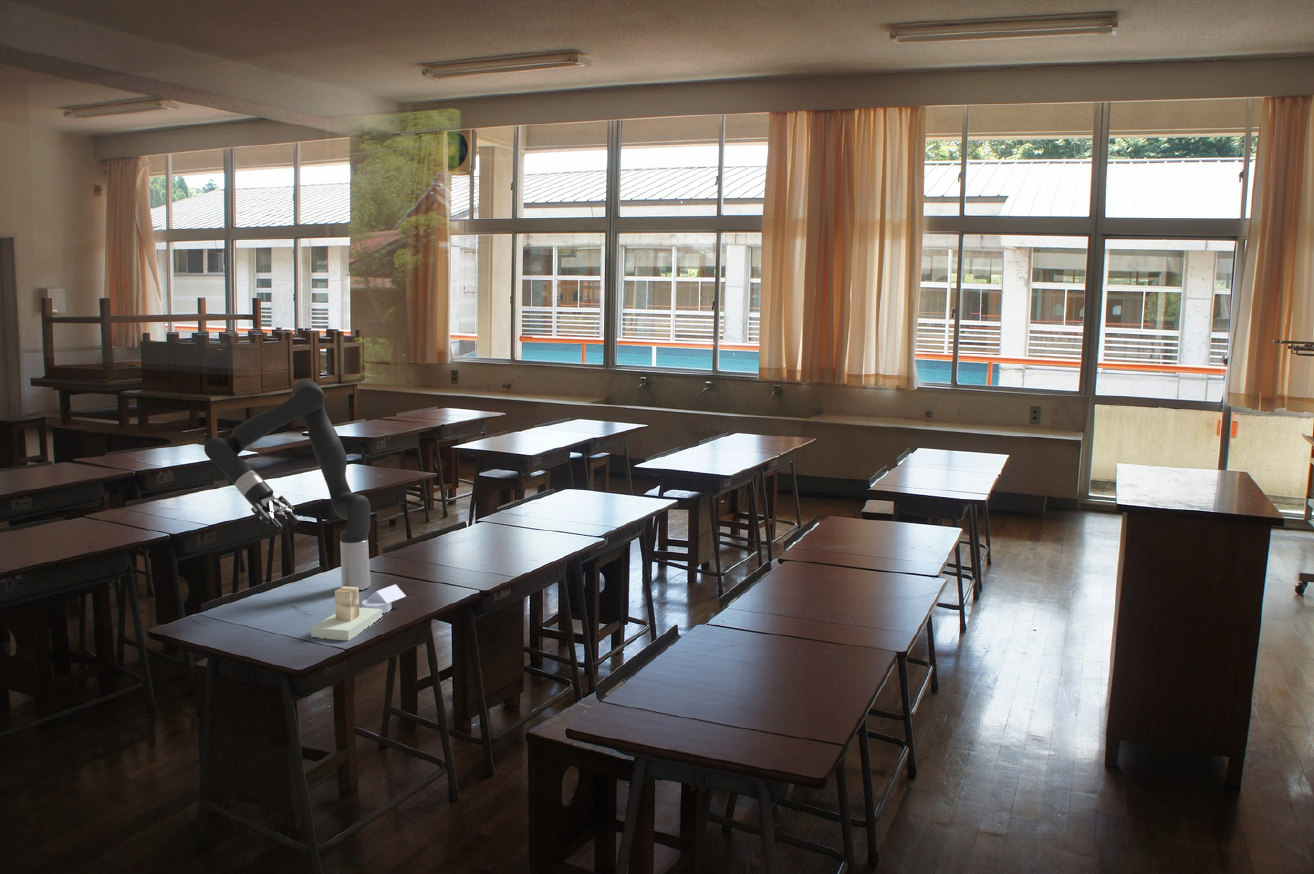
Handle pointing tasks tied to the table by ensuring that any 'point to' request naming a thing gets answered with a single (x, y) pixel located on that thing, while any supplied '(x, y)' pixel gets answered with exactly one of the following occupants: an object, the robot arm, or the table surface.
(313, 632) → the sage board
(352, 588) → the birch block
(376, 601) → the wedge on round base
